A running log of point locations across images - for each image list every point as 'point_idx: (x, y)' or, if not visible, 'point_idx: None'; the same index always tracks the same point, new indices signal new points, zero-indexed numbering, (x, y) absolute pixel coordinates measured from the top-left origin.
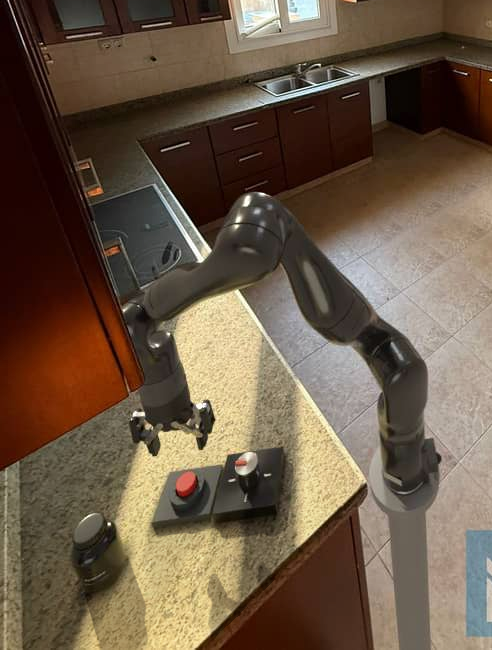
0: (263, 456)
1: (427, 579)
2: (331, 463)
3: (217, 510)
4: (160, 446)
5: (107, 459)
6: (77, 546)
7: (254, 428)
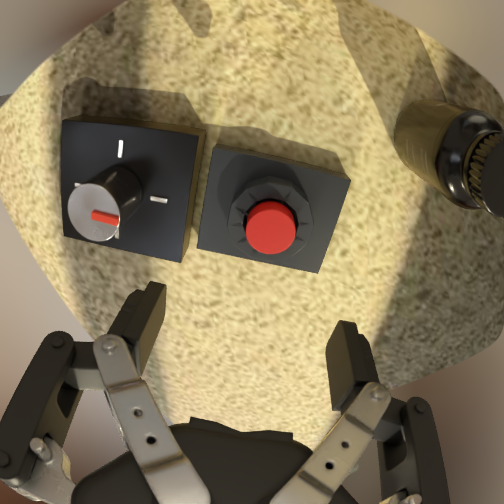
0: None
1: None
2: (7, 183)
3: (186, 140)
4: (326, 347)
5: (421, 329)
6: None
7: None
